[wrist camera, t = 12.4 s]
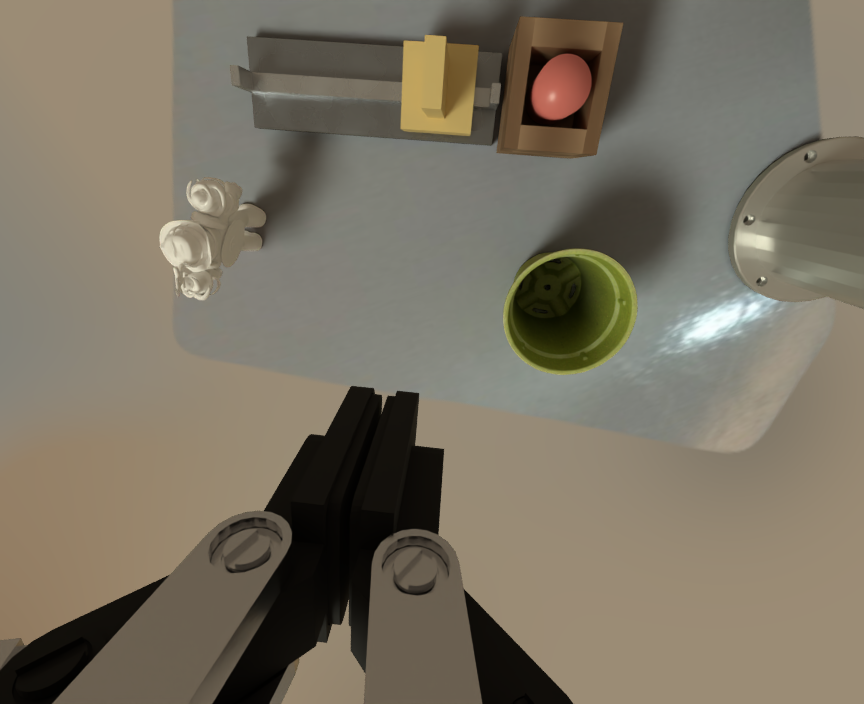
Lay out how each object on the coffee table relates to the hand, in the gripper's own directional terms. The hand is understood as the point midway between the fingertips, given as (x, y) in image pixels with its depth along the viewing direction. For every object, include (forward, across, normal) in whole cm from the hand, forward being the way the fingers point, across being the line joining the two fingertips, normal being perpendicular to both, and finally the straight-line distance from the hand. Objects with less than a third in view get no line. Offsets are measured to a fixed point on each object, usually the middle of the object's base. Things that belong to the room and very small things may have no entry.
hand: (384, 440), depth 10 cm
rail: (+29, +6, -11) cm, 32 cm away
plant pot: (+29, -10, +2) cm, 31 cm away
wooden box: (+29, -7, -12) cm, 32 cm away
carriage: (+28, +1, -12) cm, 30 cm away
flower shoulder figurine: (+29, +17, 0) cm, 34 cm away
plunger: (+26, -7, -12) cm, 29 cm away
